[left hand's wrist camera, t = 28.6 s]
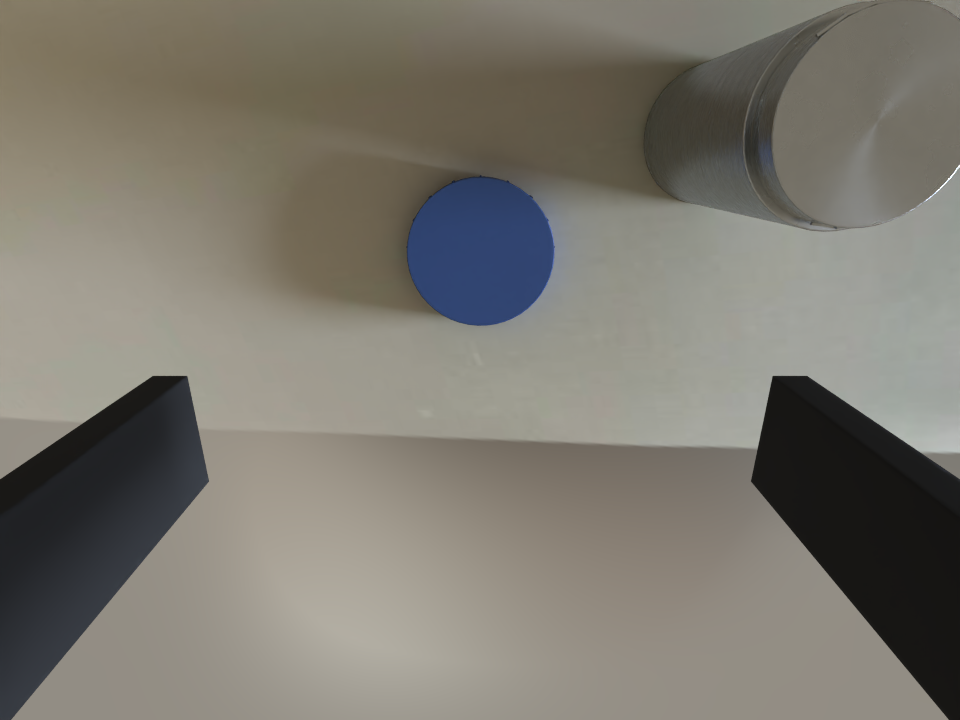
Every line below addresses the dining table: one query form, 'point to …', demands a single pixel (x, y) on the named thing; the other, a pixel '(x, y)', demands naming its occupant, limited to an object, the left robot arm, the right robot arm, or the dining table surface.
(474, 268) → the lid
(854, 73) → the jar
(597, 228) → the dining table surface
